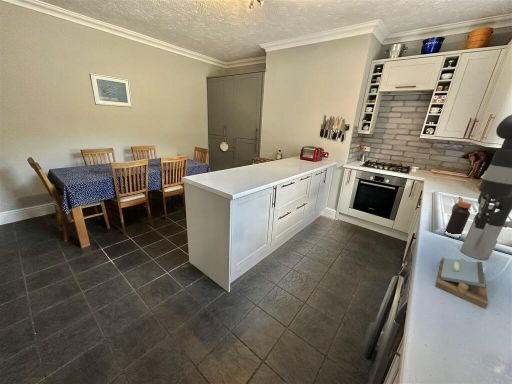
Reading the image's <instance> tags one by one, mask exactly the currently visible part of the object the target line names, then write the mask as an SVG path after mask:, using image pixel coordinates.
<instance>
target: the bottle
mask: <svg viewBox="0 0 512 384" xmlns="http://www.w3.org/2000/svg"><path fill="white" fill-rule="evenodd" d="M458 201H459V200H458ZM457 203H458V202H457ZM471 207H472V203H470V202H466V201H464V200H463V201H459V203H458V208H456V209H454V210H453V212H452V211H451V214H450V218H449V220H448V222H447V224H446V227H445V230H446V231H447V232H448V233H451V234H461V235H462V234H463V232H464V230H465V227H466V225H467V222H468V221H469V218H470V215H471V212H470V211H469V210H470V209H471ZM445 230H444V231H445Z"/></svg>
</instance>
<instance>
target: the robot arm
mask: <svg viewBox="0 0 512 384" xmlns="http://www.w3.org/2000/svg"><path fill="white" fill-rule="evenodd" d="M495 130H496V131H495V132H496V136H498V138H499V139H503V143H502V145H500V146H501V147H500V148H497V149H496V151H495V153H494V155H493V157H492V160H491V162H490V164H489V165H488V167H487V168H486V169H487V170H486V171H485V173H484V175H483V177H482V180H481V182H480V185H479V187H478V191H479V195H478V199H477V203H478V205H479V206H478V211H477V213H476V214H475V215H474V218H473V220H472V223H471V224H470V228H469V229H468V232H467V234H466V236H465V238H464V240H463V243H462V245H461V247H460V249H461V250H460V251H461V253H463V254H464V253H465V255H466V256H469V257H471V258H472V259H473V258H474V259H477V260H482V261H486V260H487V259H490V257H491V256H492V254H493V251H494V250H495V247H496V246H497V243H498V238H499V236H500V234H501V232H502V231H503V227H504V225H505V223H506V221H507V219H508V217H509V215H510V213H511V212H512V114H510V115H508V116H506V117H504V118H503V119H502V120H501V122H500V123H499V124H498V125H497V127H496V129H495ZM496 210H497V211H496Z"/></svg>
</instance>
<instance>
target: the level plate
mask: <svg viewBox="0 0 512 384" xmlns="http://www.w3.org/2000/svg"><path fill="white" fill-rule="evenodd" d="M443 258H444V263H443V268H442V274H441V279H442V280H447V281H453V282H459V283H465V284H470V285H476V286H482V287H485V283H486V280H485V281H484V276H485V272H484V268H483V267H484V266H483V262H482V261H471V260H470V261H469V260H466V261H463V260H464V259H463V260H460V259H453V258H445V257H443ZM483 272H484V273H483Z"/></svg>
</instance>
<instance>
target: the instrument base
mask: <svg viewBox="0 0 512 384" xmlns="http://www.w3.org/2000/svg"><path fill="white" fill-rule="evenodd" d="M444 258H445V257H441V260H440V263H439V267H438V272H437V276H436V282H435V287H436V288H438V289H441V290H442V291H445V292H447V293H450V294H452V295H454V296H456V297H459V298H460V299H463V300H465V301H467V302H469V303H472V304H473V305H476V306H478V307H480V308H482V309H487V308H488V305H489V300H488V292H487V285H486V278H485V276H486V275H484V281H485V287H482V286H476V285H470V284H465V283H459V282H453V281H447V280H442V279H441V274H442V268H443V263H444ZM459 260H463V261H467V260H466V259H464V258H461V259H459ZM483 273H484V274H485V272H484V271H483Z"/></svg>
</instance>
